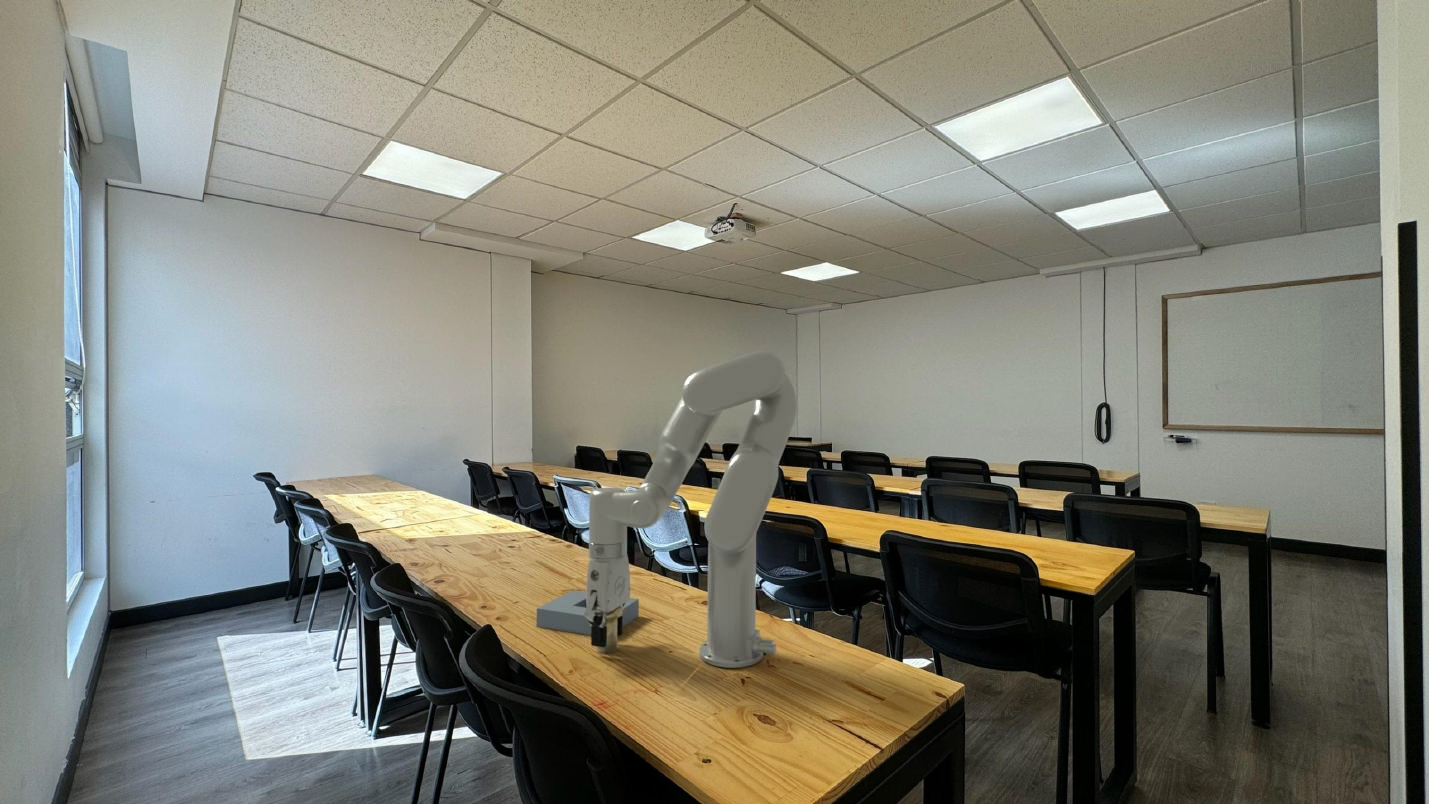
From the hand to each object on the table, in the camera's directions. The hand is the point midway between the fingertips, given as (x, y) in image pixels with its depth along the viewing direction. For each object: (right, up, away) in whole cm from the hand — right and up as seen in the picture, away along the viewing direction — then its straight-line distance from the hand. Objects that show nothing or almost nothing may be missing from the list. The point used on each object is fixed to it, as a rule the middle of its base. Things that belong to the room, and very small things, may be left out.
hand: (607, 639), depth 116 cm
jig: (-7, -2, +15) cm, 17 cm away
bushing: (0, -2, 0) cm, 2 cm away
